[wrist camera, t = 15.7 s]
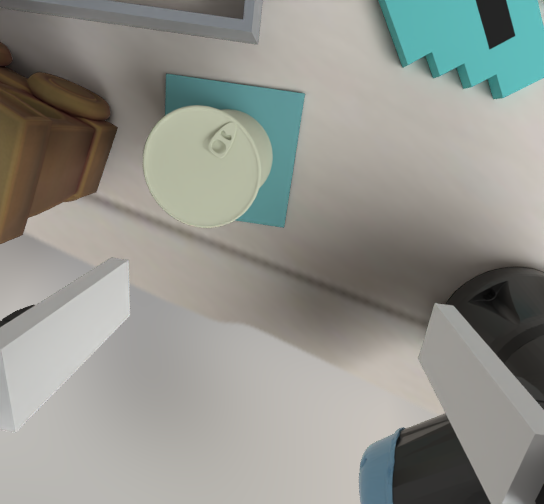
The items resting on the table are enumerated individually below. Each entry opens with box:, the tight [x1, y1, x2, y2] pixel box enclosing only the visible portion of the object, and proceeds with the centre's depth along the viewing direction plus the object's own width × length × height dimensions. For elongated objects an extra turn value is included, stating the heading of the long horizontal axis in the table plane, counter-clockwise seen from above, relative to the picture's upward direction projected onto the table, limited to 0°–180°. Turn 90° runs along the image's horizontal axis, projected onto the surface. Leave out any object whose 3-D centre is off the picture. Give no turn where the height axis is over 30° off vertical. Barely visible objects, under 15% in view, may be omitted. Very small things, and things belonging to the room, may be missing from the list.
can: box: [143, 105, 273, 228], centre depth 31 cm, size 9×9×12 cm
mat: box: [165, 74, 305, 228], centre depth 37 cm, size 14×14×1 cm
